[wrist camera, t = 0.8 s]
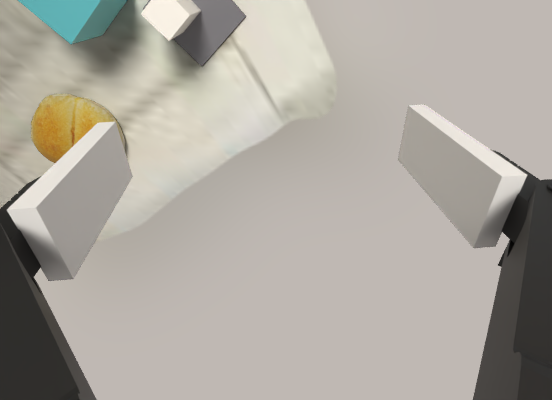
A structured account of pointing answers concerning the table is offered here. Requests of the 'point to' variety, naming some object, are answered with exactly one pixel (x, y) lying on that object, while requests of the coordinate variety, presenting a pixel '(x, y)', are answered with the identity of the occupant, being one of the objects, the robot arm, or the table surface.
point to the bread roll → (65, 123)
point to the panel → (209, 28)
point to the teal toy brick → (76, 16)
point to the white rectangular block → (171, 16)
